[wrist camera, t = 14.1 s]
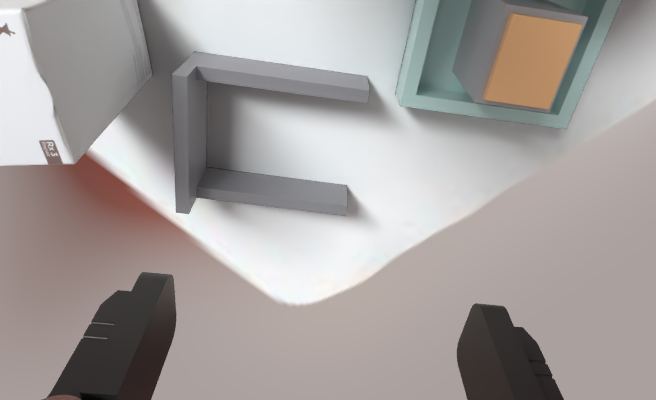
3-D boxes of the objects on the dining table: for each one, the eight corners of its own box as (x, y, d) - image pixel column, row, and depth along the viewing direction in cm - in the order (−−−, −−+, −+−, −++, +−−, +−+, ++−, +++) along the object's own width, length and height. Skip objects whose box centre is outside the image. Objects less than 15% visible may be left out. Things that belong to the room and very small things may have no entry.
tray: (429, -62, 33) (437, -60, 30) (610, -33, 33) (633, -28, 31) (395, 92, 38) (399, 106, 36) (550, 114, 39) (565, 129, 36)
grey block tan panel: (475, -13, 34) (509, 5, 27) (543, -2, 34) (592, 18, 27) (451, 70, 37) (476, 105, 30) (514, 80, 37) (552, 116, 31)
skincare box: (51, -33, 34) (-119, 1, 21) (136, -34, 34) (17, 0, 21) (84, 83, 38) (-40, 170, 25) (159, 82, 38) (72, 169, 25)
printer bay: (194, 51, 37) (171, 74, 32) (367, 76, 38) (372, 102, 32) (195, 175, 42) (175, 212, 37) (344, 194, 43) (346, 233, 38)
